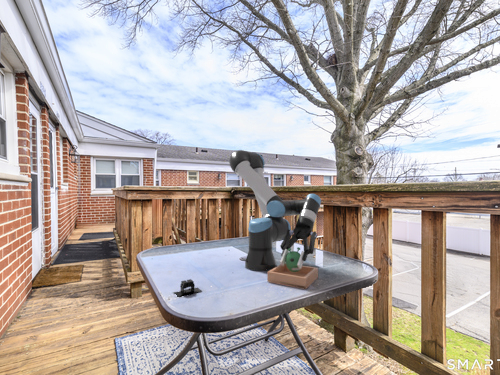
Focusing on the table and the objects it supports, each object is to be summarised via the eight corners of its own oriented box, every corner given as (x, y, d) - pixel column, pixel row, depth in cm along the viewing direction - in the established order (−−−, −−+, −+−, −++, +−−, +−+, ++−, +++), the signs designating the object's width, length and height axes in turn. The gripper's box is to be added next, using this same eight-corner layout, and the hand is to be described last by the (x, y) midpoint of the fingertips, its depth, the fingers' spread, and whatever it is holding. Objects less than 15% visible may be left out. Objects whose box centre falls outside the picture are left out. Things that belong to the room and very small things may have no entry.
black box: (199, 287, 97) (199, 275, 97) (207, 293, 91) (207, 280, 91) (167, 294, 90) (167, 281, 90) (173, 301, 84) (173, 287, 84)
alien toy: (289, 275, 99) (289, 250, 100) (283, 270, 107) (283, 246, 107) (306, 274, 101) (305, 249, 101) (298, 268, 108) (298, 245, 109)
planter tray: (267, 281, 101) (267, 271, 102) (283, 271, 115) (283, 262, 115) (305, 289, 93) (305, 278, 93) (317, 277, 107) (317, 267, 107)
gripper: (329, 228, 111) (316, 274, 97) (289, 225, 123) (272, 266, 109) (325, 217, 107) (311, 264, 93) (283, 215, 119) (265, 256, 105)
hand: (290, 265), depth 101 cm, fingers closed on alien toy, 7 cm apart
